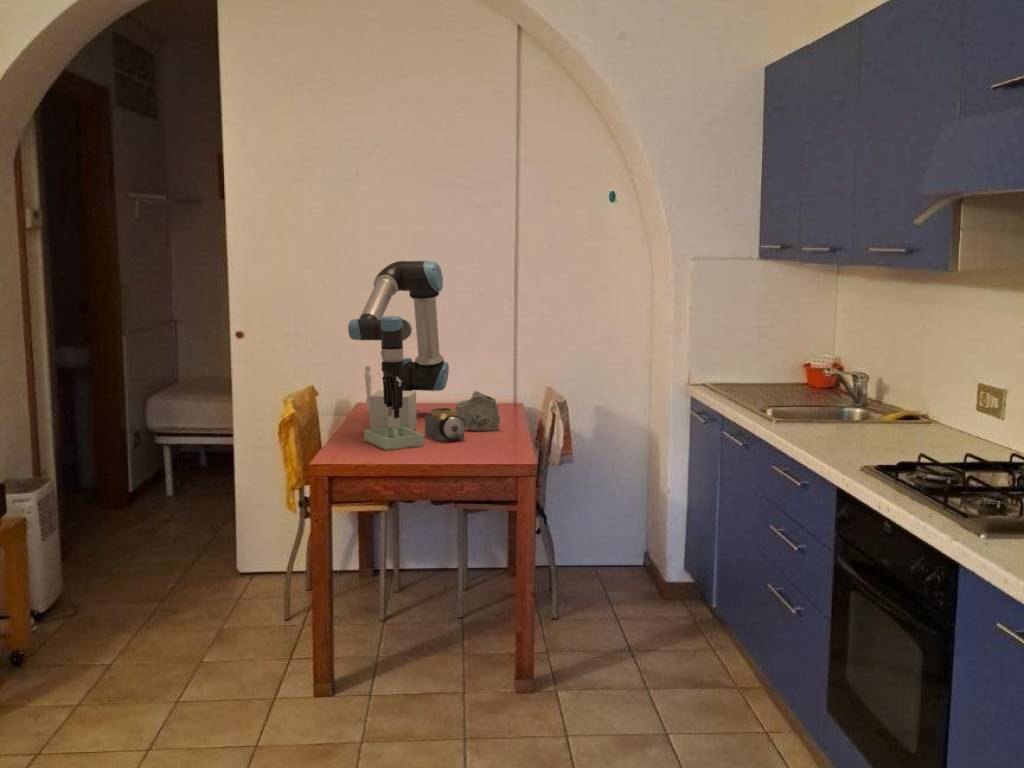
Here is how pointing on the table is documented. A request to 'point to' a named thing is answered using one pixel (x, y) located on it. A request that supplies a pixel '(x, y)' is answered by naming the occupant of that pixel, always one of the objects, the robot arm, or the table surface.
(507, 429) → the table surface
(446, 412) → the block
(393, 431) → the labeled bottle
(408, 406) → the grey box
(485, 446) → the table surface
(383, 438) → the tray
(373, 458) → the table surface
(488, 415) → the fossil
